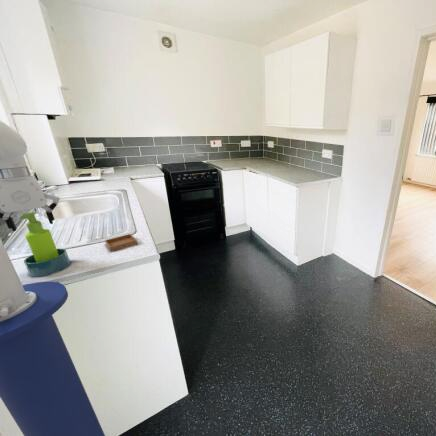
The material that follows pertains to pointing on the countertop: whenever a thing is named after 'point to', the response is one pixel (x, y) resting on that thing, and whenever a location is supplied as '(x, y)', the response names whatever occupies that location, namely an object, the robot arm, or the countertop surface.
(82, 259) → the countertop surface
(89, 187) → the countertop surface
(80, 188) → the countertop surface
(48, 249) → the soap dispenser
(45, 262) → the bowl
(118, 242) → the tray
